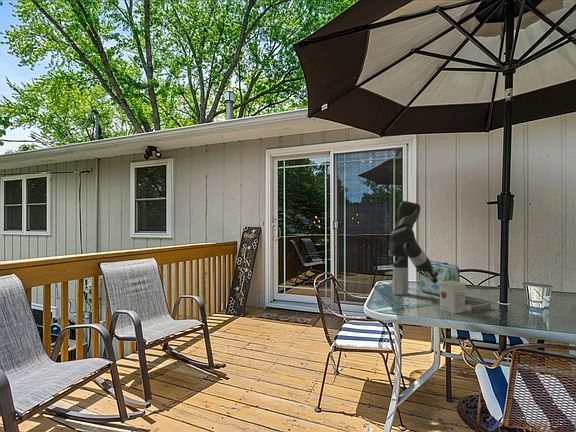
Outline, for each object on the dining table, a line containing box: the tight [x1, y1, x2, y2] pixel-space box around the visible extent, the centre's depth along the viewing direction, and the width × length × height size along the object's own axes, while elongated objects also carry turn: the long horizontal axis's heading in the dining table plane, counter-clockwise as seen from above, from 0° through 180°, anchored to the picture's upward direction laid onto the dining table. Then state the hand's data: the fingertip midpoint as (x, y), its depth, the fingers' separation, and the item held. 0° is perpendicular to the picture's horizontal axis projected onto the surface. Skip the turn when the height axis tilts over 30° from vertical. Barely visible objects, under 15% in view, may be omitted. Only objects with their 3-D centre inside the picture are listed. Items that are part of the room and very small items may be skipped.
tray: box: [465, 297, 492, 314], centre depth 188 cm, size 16×16×3 cm
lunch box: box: [418, 260, 461, 297], centre depth 220 cm, size 26×11×21 cm, turn 25°
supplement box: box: [439, 281, 466, 314], centre depth 181 cm, size 9×9×15 cm
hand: (435, 281), depth 174 cm, fingers closed
